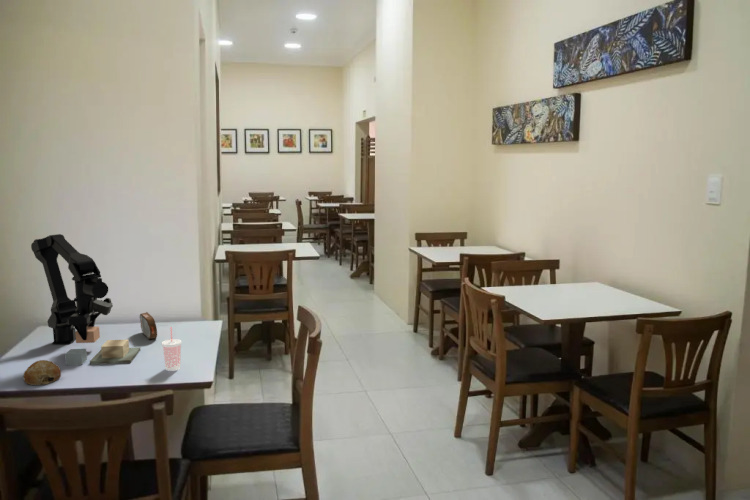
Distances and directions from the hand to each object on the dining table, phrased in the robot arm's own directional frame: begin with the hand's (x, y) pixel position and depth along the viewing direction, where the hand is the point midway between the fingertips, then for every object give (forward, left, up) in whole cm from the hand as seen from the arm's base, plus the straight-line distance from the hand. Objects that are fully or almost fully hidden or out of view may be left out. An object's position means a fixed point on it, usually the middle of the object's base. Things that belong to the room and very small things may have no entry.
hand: (87, 337), depth 217 cm
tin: (+17, +15, -5) cm, 23 cm away
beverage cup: (+33, -21, -5) cm, 39 cm away
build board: (+11, -8, -5) cm, 15 cm away
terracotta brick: (0, 0, -1) cm, 1 cm away
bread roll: (-5, -27, -5) cm, 28 cm away
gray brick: (0, -12, -5) cm, 13 cm away
